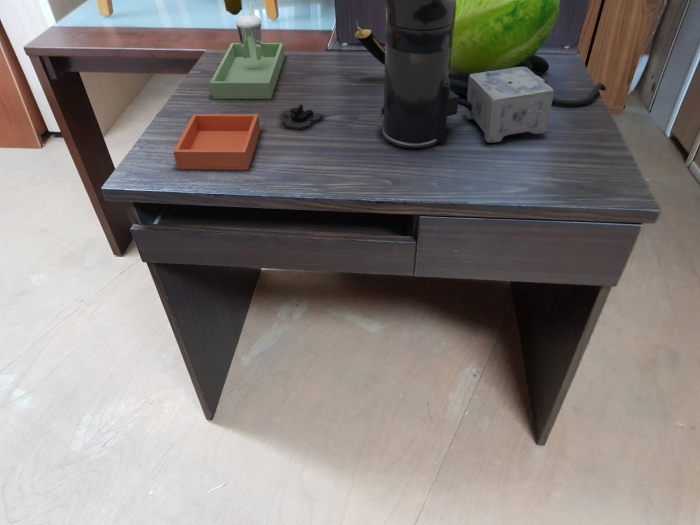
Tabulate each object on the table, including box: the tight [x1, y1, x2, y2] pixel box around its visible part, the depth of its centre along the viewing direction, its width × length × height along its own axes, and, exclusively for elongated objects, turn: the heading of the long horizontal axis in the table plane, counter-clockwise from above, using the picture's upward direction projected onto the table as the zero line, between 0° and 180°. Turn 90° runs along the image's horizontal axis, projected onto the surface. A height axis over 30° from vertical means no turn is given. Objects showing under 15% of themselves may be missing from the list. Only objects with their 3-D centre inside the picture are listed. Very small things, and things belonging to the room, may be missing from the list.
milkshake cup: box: [235, 4, 263, 69], centre depth 102 cm, size 4×5×10 cm
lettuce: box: [450, 0, 561, 76], centre depth 91 cm, size 15×23×16 cm
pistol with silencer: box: [354, 26, 469, 97], centre depth 93 cm, size 4×25×11 cm, turn 53°
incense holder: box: [465, 67, 555, 144], centre depth 84 cm, size 10×8×10 cm
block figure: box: [282, 103, 322, 131], centre depth 88 cm, size 6×2×6 cm
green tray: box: [209, 42, 285, 100], centre depth 101 cm, size 10×18×3 cm, turn 178°
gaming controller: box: [513, 54, 550, 85], centre depth 97 cm, size 11×4×7 cm
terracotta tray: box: [173, 113, 261, 171], centre depth 82 cm, size 10×11×3 cm
